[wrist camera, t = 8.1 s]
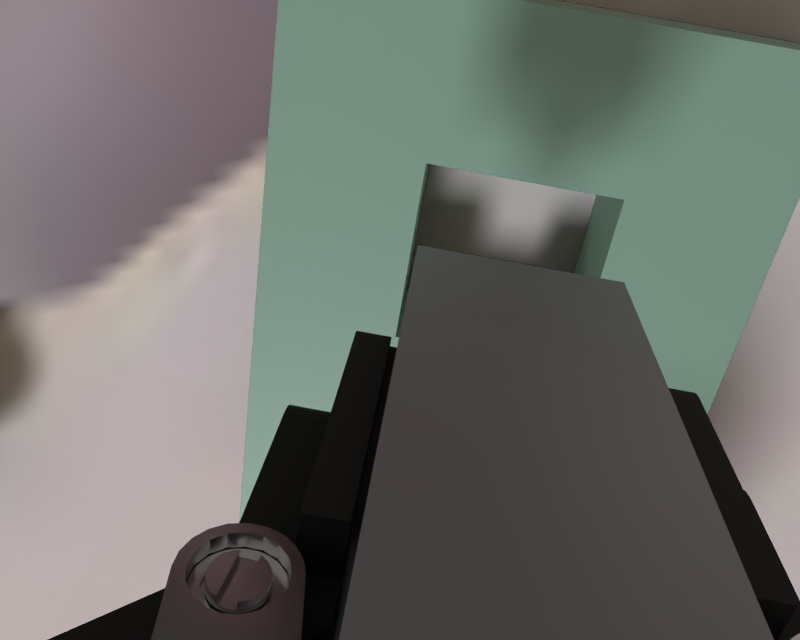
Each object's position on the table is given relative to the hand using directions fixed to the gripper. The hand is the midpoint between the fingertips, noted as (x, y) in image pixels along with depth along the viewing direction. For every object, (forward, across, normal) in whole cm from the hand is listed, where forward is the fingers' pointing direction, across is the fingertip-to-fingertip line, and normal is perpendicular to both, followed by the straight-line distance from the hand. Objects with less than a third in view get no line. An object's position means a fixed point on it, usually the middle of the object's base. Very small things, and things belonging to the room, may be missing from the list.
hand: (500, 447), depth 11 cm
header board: (+10, 0, +2) cm, 11 cm away
